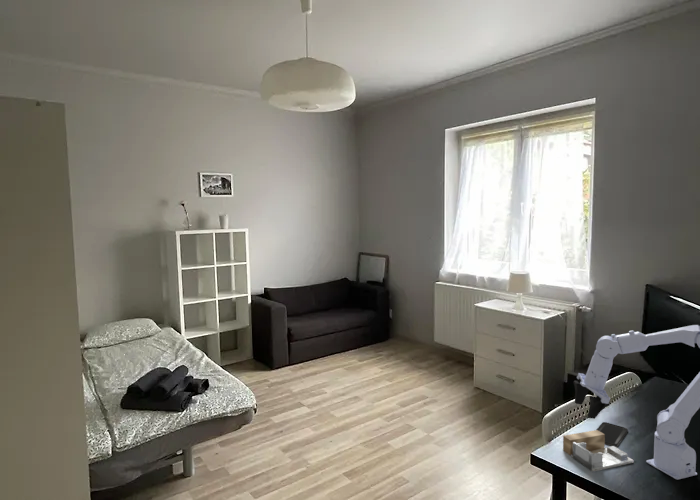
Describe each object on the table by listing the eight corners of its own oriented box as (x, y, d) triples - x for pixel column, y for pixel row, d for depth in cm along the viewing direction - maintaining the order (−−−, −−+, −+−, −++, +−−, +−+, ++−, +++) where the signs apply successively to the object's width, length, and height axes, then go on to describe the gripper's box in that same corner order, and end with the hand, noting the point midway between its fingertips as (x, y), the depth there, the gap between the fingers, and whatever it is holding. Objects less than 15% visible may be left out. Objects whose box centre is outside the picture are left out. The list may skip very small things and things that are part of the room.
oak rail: (596, 444, 141) (597, 429, 140) (604, 449, 138) (604, 434, 138) (563, 450, 138) (563, 435, 137) (570, 455, 135) (570, 440, 134)
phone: (628, 428, 149) (616, 445, 138) (628, 431, 149) (616, 448, 139) (602, 421, 155) (589, 436, 144) (602, 424, 155) (589, 440, 144)
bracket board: (610, 449, 138) (611, 434, 137) (633, 462, 130) (633, 446, 130) (571, 457, 133) (571, 441, 133) (592, 471, 126) (593, 455, 125)
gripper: (573, 359, 143) (561, 395, 146) (599, 382, 129) (585, 422, 132) (593, 363, 144) (581, 399, 147) (621, 386, 129) (607, 425, 132)
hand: (584, 410), depth 139 cm, fingers open, 7 cm apart
